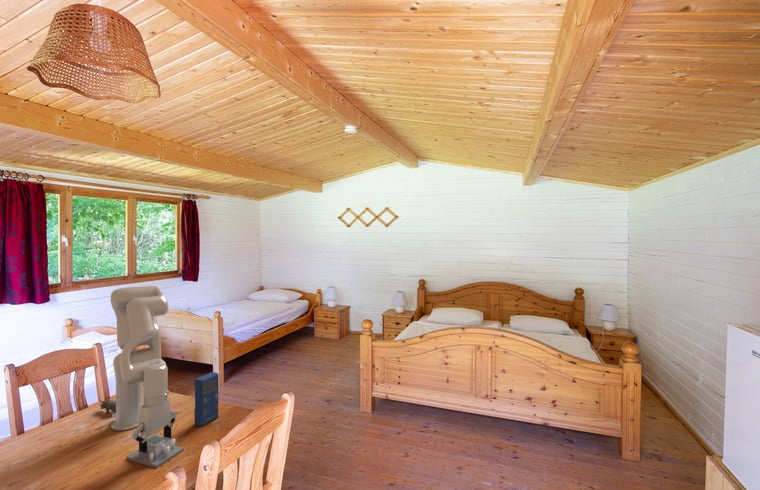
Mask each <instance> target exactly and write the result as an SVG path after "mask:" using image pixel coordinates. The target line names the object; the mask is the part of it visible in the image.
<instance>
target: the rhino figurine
mask: <svg viewBox="0 0 760 490" xmlns="http://www.w3.org/2000/svg"><path fill="white" fill-rule="evenodd" d="M99 406H100V409H101V410H104V409H105V412H104V413H105V414H110V412H111V415H113V414H116V400H115V399H114V400H113V399H111V398H106V399H105V400H104V401H103V400H100V403H99ZM112 412H113V413H112Z"/></svg>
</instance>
